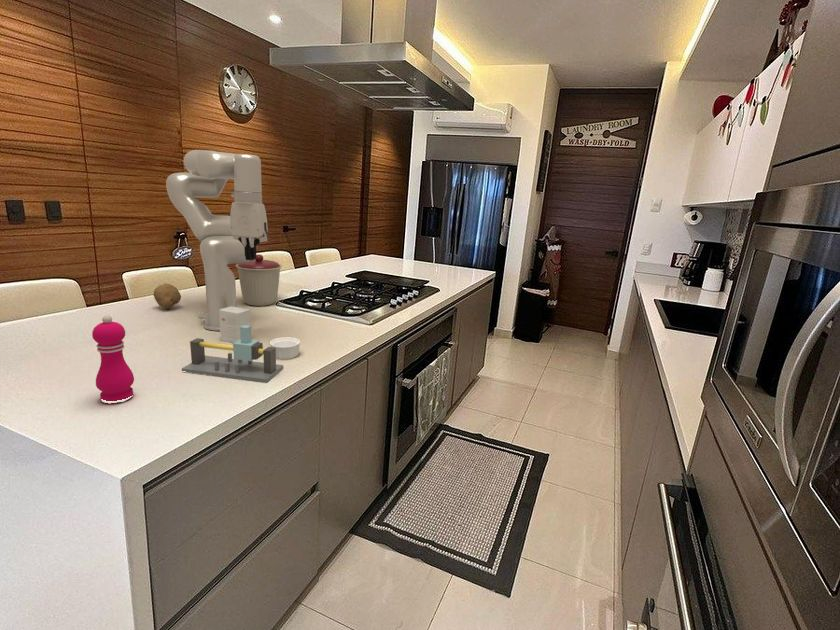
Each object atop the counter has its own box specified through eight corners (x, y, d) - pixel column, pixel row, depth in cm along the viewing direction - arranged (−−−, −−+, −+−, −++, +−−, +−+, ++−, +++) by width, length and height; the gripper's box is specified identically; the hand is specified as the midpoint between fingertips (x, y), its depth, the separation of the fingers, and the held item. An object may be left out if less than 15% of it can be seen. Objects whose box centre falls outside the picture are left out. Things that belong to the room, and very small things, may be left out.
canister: (274, 310, 178) (273, 259, 173) (230, 307, 178) (227, 255, 173) (287, 299, 196) (287, 253, 190) (247, 296, 196) (245, 250, 190)
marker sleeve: (233, 359, 117) (232, 327, 114) (242, 353, 121) (241, 323, 118) (251, 361, 116) (250, 329, 114) (259, 355, 120) (258, 325, 118)
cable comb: (181, 371, 117) (179, 342, 114) (204, 358, 126) (202, 331, 124) (266, 382, 114) (265, 353, 112) (283, 368, 123) (282, 340, 121)
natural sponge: (175, 304, 176) (173, 280, 173) (186, 309, 171) (184, 284, 169) (151, 308, 169) (148, 283, 166) (162, 313, 164) (159, 287, 161)
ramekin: (283, 362, 128) (283, 349, 126) (263, 355, 132) (263, 341, 131) (306, 354, 135) (306, 341, 134) (286, 347, 139) (286, 335, 138)
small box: (252, 339, 144) (251, 309, 141) (240, 344, 139) (238, 313, 136) (232, 335, 146) (231, 305, 143) (220, 340, 141) (218, 309, 138)
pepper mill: (110, 390, 104) (99, 310, 99) (142, 391, 105) (133, 311, 99) (90, 405, 97) (78, 319, 92) (125, 406, 98) (114, 321, 92)
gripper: (217, 196, 127) (221, 259, 132) (266, 200, 125) (267, 263, 130) (231, 196, 134) (234, 255, 139) (278, 200, 132) (279, 260, 137)
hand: (250, 259), depth 134 cm, fingers closed
